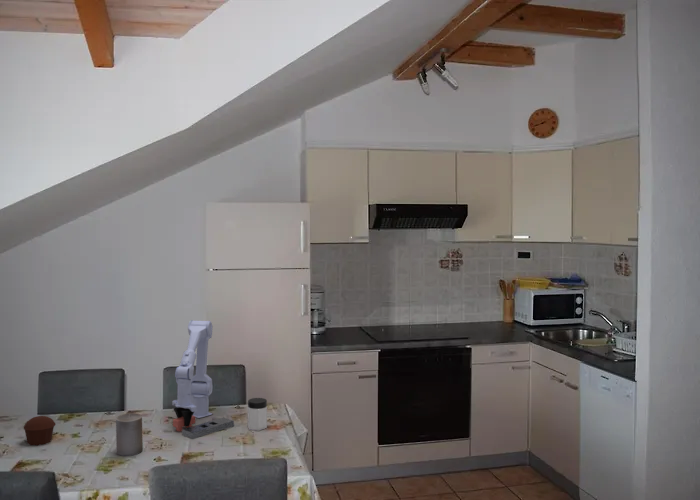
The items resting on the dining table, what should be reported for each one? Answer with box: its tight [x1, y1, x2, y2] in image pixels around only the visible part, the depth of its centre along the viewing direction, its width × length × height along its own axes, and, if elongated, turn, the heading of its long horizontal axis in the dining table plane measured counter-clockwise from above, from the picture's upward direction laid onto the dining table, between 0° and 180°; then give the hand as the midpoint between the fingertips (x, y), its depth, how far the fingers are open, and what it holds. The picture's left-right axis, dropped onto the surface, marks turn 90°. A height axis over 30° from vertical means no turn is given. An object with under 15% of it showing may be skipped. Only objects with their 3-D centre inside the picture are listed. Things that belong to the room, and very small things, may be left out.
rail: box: [181, 416, 235, 440], centre depth 279 cm, size 7×22×2 cm, turn 140°
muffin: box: [23, 415, 56, 446], centre depth 262 cm, size 12×11×10 cm
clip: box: [172, 415, 196, 433], centre depth 280 cm, size 4×9×5 cm, turn 140°
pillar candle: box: [115, 412, 144, 457], centre depth 253 cm, size 10×10×15 cm
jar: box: [247, 397, 268, 431], centre depth 284 cm, size 9×8×12 cm
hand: (184, 424), depth 280 cm, fingers closed on clip, 3 cm apart
